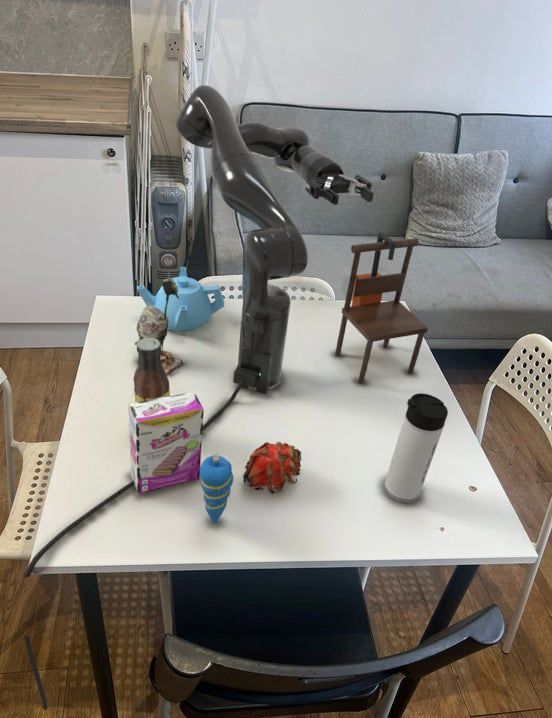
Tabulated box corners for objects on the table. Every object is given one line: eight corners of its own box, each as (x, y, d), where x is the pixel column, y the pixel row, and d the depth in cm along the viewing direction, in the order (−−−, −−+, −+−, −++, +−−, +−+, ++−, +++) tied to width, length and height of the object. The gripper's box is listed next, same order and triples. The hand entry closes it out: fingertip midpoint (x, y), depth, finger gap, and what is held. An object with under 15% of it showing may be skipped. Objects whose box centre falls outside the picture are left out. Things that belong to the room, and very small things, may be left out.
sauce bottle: (176, 427, 120) (177, 339, 108) (162, 447, 116) (161, 358, 103) (145, 417, 122) (142, 329, 110) (130, 437, 117) (125, 348, 105)
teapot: (180, 345, 142) (181, 303, 135) (135, 318, 149) (134, 277, 142) (227, 320, 152) (229, 280, 145) (182, 296, 159) (183, 257, 152)
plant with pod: (155, 343, 142) (153, 261, 129) (188, 366, 136) (190, 282, 124) (125, 356, 137) (120, 272, 125) (158, 380, 131) (157, 295, 119)
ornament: (225, 537, 101) (230, 470, 92) (193, 530, 101) (196, 463, 92) (232, 513, 105) (238, 447, 96) (202, 507, 106) (205, 440, 96)
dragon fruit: (302, 477, 115) (247, 508, 110) (279, 435, 116) (223, 465, 111) (320, 469, 107) (262, 503, 103) (296, 425, 108) (237, 456, 103)
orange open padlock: (390, 325, 138) (406, 240, 128) (368, 328, 136) (383, 242, 126) (371, 309, 144) (385, 227, 133) (350, 312, 142) (363, 229, 132)
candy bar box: (138, 496, 106) (135, 422, 96) (130, 476, 110) (126, 402, 99) (201, 480, 110) (205, 407, 100) (192, 461, 114) (194, 389, 103)
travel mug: (378, 477, 114) (403, 389, 102) (413, 477, 115) (443, 390, 102) (386, 503, 109) (414, 415, 97) (423, 503, 110) (456, 415, 98)
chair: (416, 373, 141) (449, 263, 124) (356, 385, 136) (383, 271, 119) (388, 344, 149) (415, 236, 132) (330, 353, 144) (351, 243, 127)
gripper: (344, 186, 154) (378, 213, 142) (291, 190, 149) (322, 218, 138) (349, 155, 149) (385, 180, 138) (295, 158, 144) (327, 184, 133)
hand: (354, 199), depth 138 cm, fingers open, 8 cm apart
